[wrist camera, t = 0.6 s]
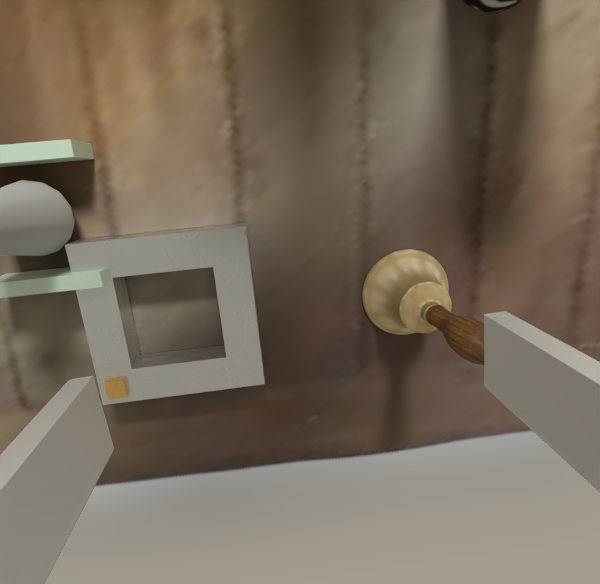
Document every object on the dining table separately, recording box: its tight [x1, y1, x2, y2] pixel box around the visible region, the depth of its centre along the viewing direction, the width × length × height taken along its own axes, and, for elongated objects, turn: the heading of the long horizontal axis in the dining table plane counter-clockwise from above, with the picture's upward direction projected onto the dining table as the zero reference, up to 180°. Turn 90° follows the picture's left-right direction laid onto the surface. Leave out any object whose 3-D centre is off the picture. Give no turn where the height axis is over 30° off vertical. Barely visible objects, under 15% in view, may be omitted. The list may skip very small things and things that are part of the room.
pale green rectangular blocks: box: [0, 139, 107, 298], centre depth 33 cm, size 11×9×4 cm
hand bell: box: [362, 249, 484, 365], centre depth 33 cm, size 8×8×16 cm
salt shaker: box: [0, 180, 75, 256], centre depth 29 cm, size 6×6×13 cm
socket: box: [65, 223, 265, 405], centre depth 37 cm, size 14×14×4 cm
